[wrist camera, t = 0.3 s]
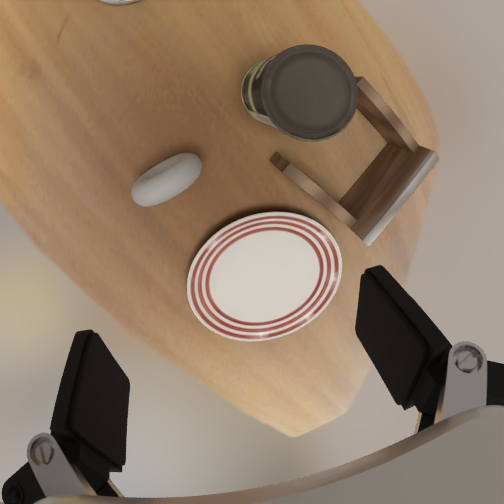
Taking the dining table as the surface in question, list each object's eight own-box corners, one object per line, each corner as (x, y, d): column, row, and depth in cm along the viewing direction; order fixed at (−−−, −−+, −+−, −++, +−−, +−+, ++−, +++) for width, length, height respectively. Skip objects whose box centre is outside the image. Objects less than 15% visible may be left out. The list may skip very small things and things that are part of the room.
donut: (145, 194, 42) (133, 222, 33) (134, 175, 40) (118, 198, 31) (205, 163, 41) (208, 183, 33) (194, 142, 39) (195, 156, 31)
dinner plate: (349, 292, 59) (356, 302, 57) (232, 349, 61) (234, 361, 59) (307, 175, 45) (315, 181, 42) (155, 254, 47) (153, 265, 44)
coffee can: (225, 81, 36) (240, 74, 24) (287, 47, 34) (328, 29, 22) (265, 139, 41) (296, 160, 29) (322, 105, 40) (373, 113, 28)
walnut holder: (269, 160, 43) (291, 180, 33) (339, 77, 38) (379, 76, 28) (337, 215, 49) (368, 246, 40) (398, 142, 44) (439, 158, 35)
